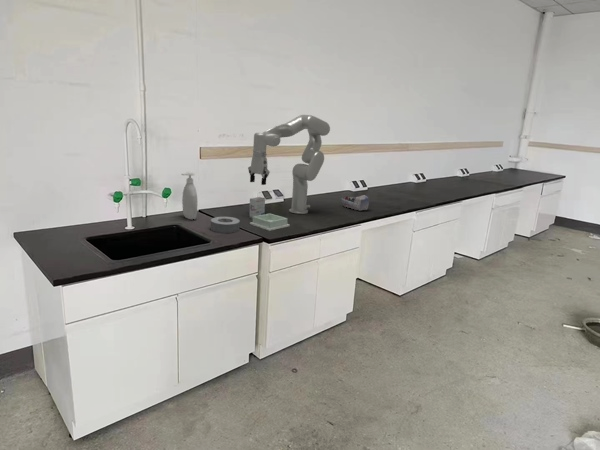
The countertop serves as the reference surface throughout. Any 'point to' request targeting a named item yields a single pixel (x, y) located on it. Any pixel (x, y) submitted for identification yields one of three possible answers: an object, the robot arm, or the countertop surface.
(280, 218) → the dock
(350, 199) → the cell model
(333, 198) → the countertop surface
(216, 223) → the tape roll
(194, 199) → the soap bottle
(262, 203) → the ink box
